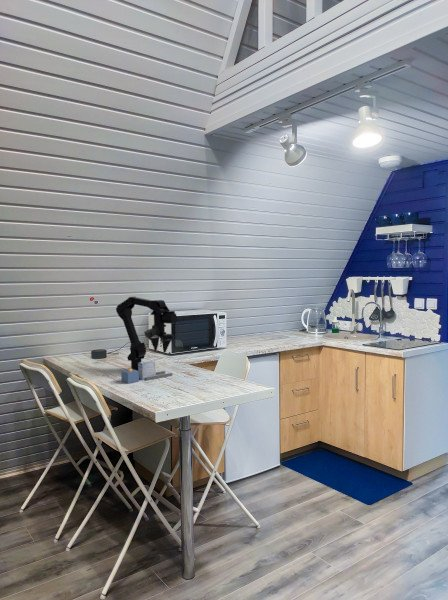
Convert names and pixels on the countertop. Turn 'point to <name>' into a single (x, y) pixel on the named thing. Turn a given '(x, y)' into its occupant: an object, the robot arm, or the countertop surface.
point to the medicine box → (146, 369)
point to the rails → (159, 375)
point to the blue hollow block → (130, 376)
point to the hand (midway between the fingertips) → (160, 351)
